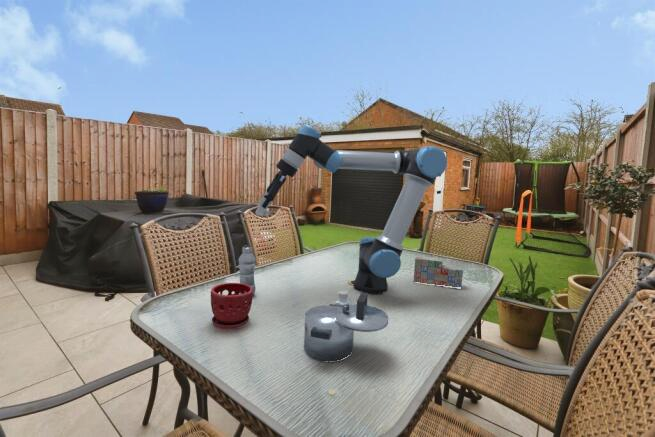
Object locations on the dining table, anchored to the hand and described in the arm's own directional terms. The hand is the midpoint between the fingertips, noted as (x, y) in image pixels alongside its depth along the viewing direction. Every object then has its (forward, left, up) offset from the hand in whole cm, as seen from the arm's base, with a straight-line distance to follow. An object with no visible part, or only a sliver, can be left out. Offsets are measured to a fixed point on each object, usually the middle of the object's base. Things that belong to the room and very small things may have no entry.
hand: (258, 210), depth 122 cm
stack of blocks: (-82, +16, -35) cm, 91 cm away
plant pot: (+14, +17, -35) cm, 41 cm away
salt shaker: (-21, +29, -35) cm, 50 cm away
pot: (-7, +44, -35) cm, 56 cm away
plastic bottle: (+3, -5, -35) cm, 36 cm away
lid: (-14, +50, -25) cm, 57 cm away
